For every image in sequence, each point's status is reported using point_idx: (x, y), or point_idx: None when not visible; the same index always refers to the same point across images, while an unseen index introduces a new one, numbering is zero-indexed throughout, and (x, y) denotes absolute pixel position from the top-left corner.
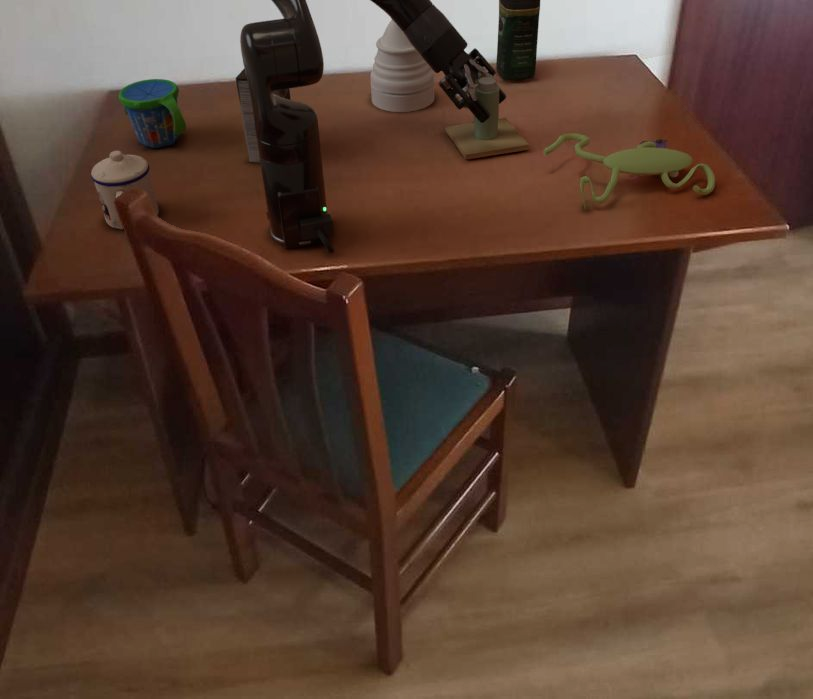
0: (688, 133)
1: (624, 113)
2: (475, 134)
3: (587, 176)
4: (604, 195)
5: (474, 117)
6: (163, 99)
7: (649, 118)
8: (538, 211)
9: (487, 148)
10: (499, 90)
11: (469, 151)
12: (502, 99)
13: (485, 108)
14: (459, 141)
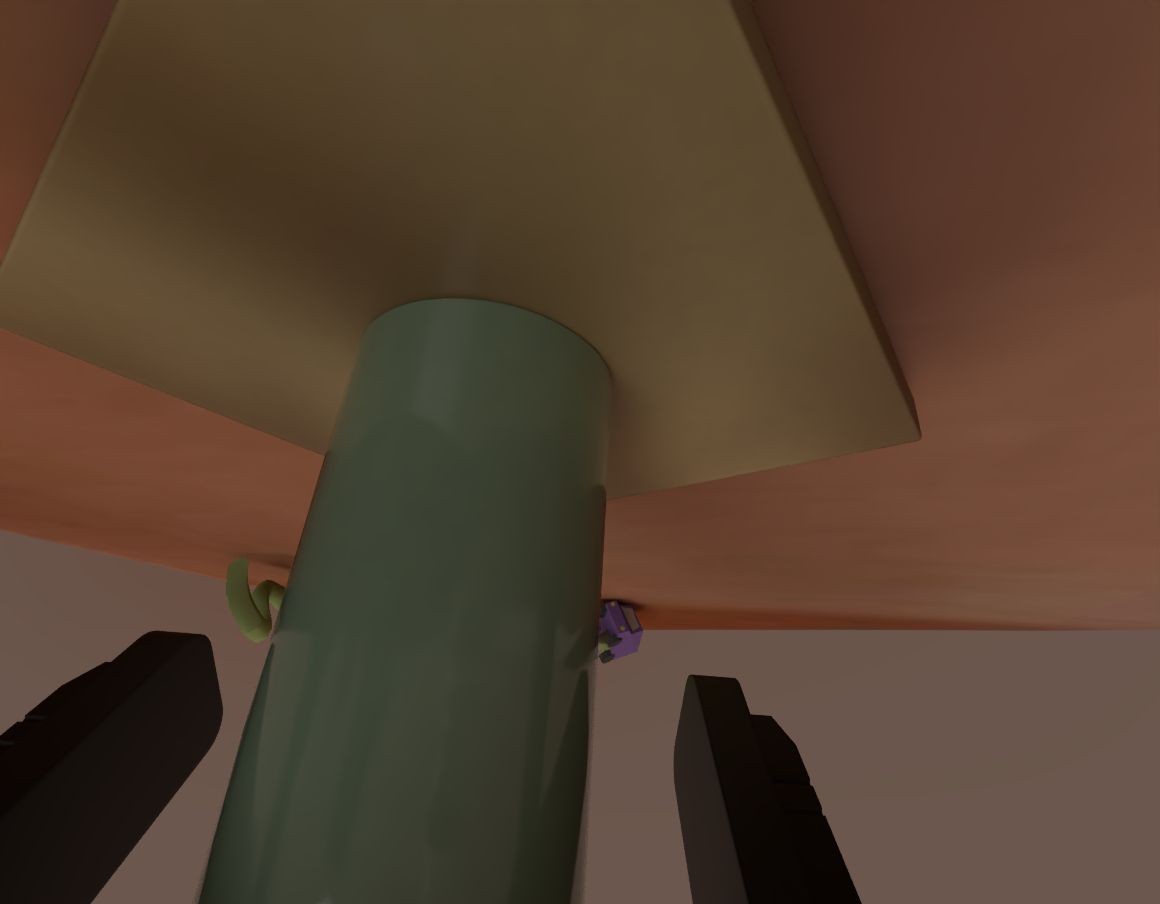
0: (763, 625)
1: (928, 599)
2: (361, 354)
3: (255, 641)
4: (276, 607)
5: (325, 549)
6: None
7: (870, 613)
8: (99, 512)
9: (268, 415)
10: (691, 881)
11: (62, 332)
12: (680, 747)
13: (151, 820)
14: (105, 187)
